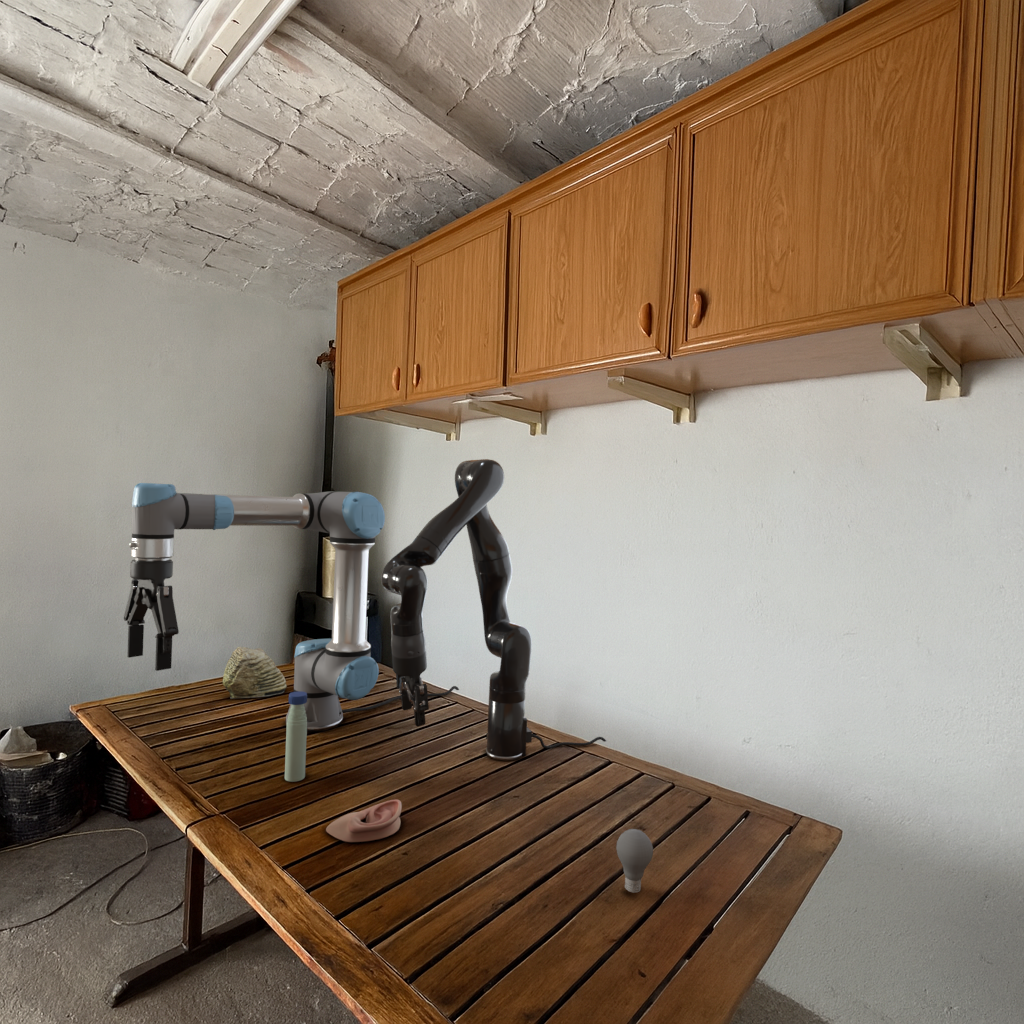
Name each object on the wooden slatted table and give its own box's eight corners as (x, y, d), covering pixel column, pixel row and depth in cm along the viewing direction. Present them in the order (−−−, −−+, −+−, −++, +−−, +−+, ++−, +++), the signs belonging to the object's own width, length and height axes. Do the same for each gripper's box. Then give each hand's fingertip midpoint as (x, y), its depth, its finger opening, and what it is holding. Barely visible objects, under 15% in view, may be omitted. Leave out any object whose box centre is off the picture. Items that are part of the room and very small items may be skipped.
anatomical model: (318, 816, 117) (346, 789, 129) (317, 837, 118) (346, 808, 129) (385, 827, 115) (408, 798, 126) (384, 848, 115) (407, 818, 126)
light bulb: (610, 879, 108) (613, 822, 108) (644, 879, 109) (647, 822, 109) (619, 902, 102) (622, 840, 102) (655, 901, 103) (658, 840, 103)
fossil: (218, 695, 195) (220, 647, 195) (278, 685, 208) (279, 640, 207) (228, 703, 189) (230, 653, 188) (289, 692, 201) (290, 645, 201)
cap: (288, 705, 139) (288, 697, 139) (288, 700, 143) (288, 691, 143) (307, 704, 141) (307, 696, 141) (306, 698, 144) (307, 690, 144)
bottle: (284, 782, 140) (287, 699, 139) (284, 774, 144) (287, 693, 143) (305, 780, 141) (308, 698, 141) (304, 772, 145) (307, 692, 145)
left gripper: (108, 554, 134) (104, 654, 134) (159, 565, 118) (155, 678, 119) (146, 552, 140) (143, 648, 140) (199, 563, 124) (195, 671, 124)
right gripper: (436, 657, 136) (440, 726, 140) (413, 636, 149) (417, 699, 152) (403, 665, 133) (408, 736, 136) (382, 643, 145) (387, 708, 148)
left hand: (148, 662), depth 129 cm, fingers open, 13 cm apart
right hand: (413, 716), depth 144 cm, fingers open, 8 cm apart
